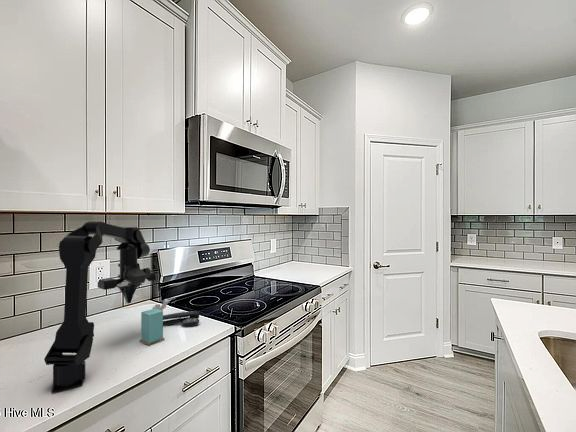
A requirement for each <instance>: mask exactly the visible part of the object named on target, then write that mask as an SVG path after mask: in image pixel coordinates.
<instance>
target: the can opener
mask: <svg viewBox="0 0 576 432" xmlns="http://www.w3.org/2000/svg"><path fill="white" fill-rule="evenodd" d="M199 318H200V312H199V311H198V310H193V311H192V310H191V311H184V310H182V311H181V312H174V313H168V314H163V327H166V326H170V325H174V324H181V326H182V327H183V328H191V327H196V326H197V325H198V324H199V323H200V319H199Z"/></svg>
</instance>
